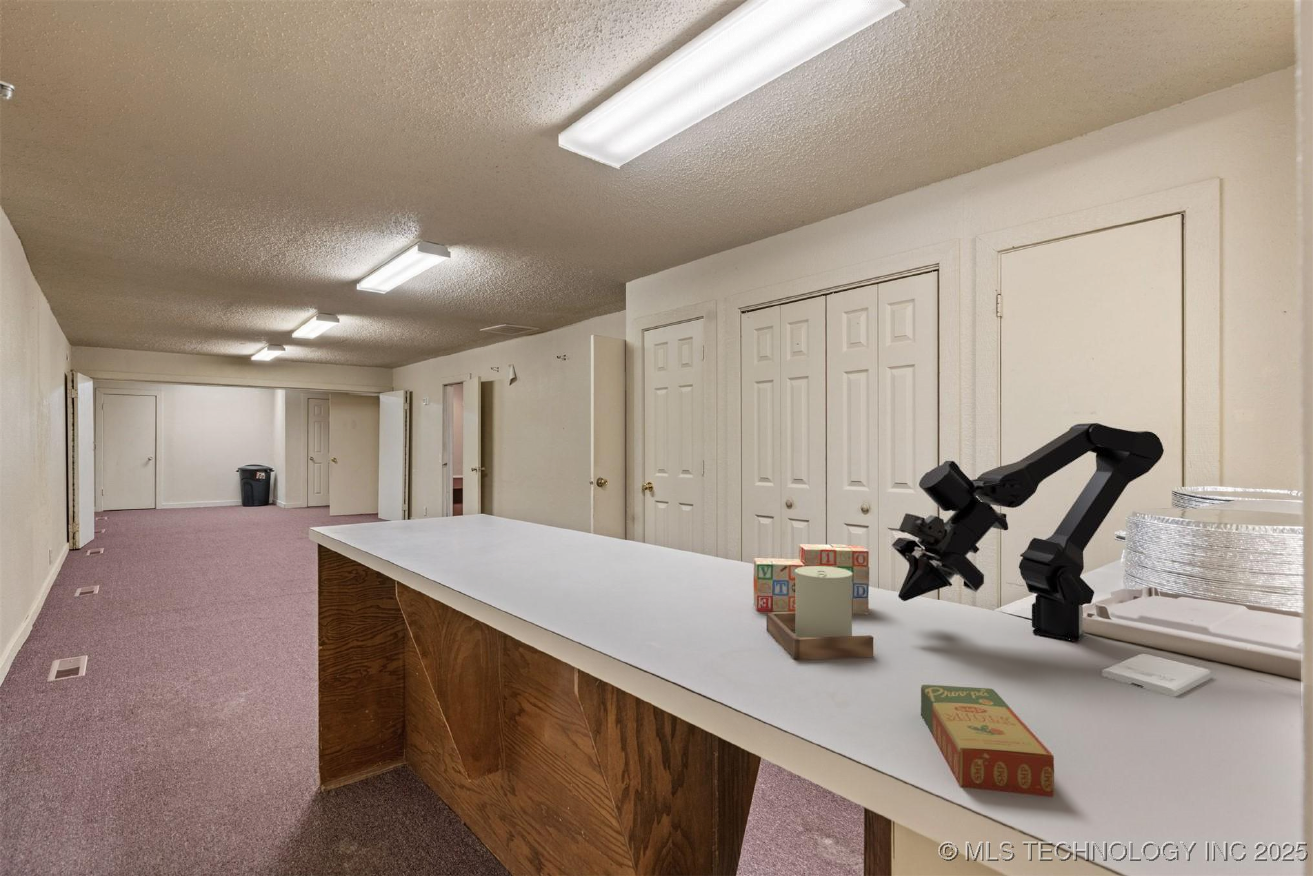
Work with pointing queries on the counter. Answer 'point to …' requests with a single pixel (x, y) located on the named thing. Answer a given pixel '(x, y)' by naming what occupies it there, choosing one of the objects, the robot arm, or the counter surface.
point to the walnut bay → (815, 641)
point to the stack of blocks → (779, 574)
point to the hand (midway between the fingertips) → (900, 598)
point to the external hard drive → (1158, 674)
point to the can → (823, 602)
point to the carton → (986, 741)
